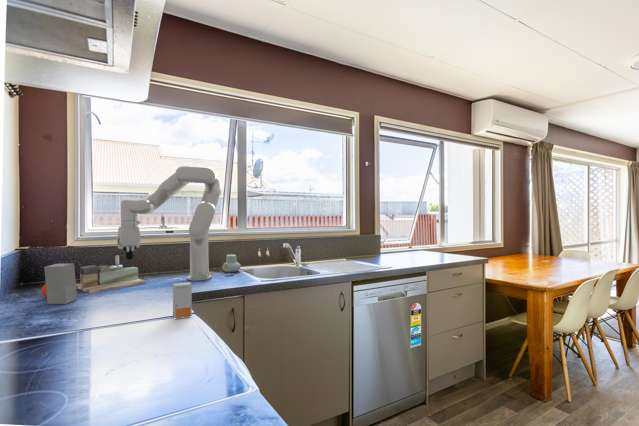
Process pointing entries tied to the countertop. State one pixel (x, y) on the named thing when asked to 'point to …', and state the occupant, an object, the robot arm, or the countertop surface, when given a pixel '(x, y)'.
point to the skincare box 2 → (182, 300)
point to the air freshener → (231, 264)
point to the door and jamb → (107, 278)
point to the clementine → (44, 290)
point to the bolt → (116, 264)
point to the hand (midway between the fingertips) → (129, 259)
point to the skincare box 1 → (60, 283)
